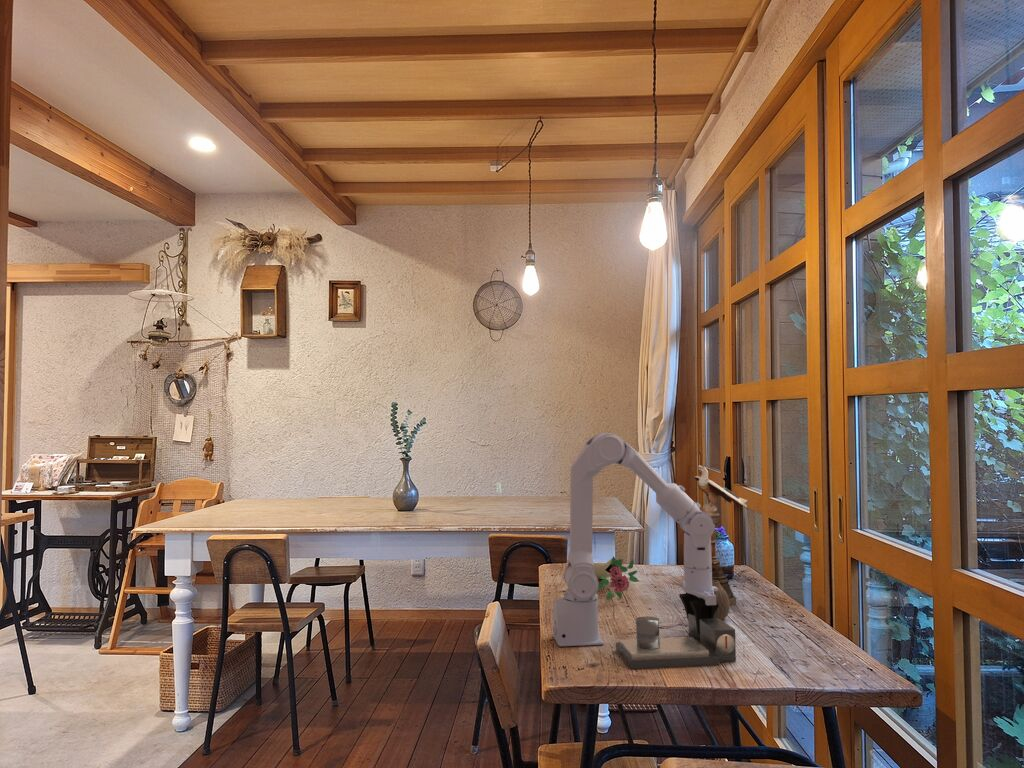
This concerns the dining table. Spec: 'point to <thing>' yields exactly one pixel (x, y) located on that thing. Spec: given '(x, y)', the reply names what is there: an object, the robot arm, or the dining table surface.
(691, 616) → the ball
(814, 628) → the dining table surface
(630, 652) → the scale
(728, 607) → the brown egg-shaped piece
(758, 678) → the dining table surface
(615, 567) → the flower vase
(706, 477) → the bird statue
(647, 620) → the cylinder
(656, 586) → the dining table surface
